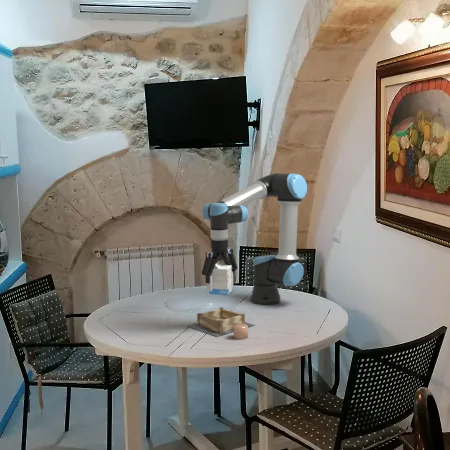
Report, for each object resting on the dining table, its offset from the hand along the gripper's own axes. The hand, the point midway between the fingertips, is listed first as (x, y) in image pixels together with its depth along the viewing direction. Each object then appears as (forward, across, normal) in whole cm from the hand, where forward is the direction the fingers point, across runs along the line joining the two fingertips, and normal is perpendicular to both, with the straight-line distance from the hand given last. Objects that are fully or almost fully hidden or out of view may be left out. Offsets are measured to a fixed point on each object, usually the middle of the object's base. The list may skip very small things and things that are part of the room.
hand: (220, 288), depth 265 cm
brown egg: (+17, +4, +17) cm, 25 cm away
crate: (+17, 0, 0) cm, 17 cm away
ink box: (+2, 0, 0) cm, 2 cm away
